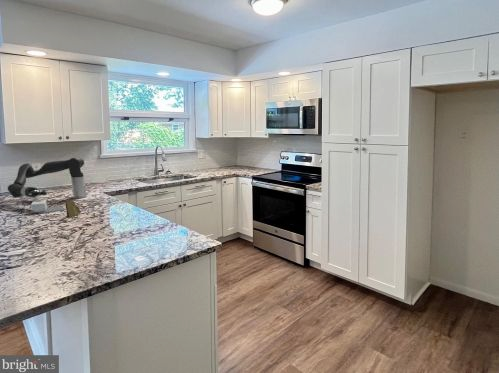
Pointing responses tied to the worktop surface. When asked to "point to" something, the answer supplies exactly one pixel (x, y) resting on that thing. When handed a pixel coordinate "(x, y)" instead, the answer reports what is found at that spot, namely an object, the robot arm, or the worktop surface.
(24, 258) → the worktop surface
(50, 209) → the mat
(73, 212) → the rock
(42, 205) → the skincare box
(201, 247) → the worktop surface
